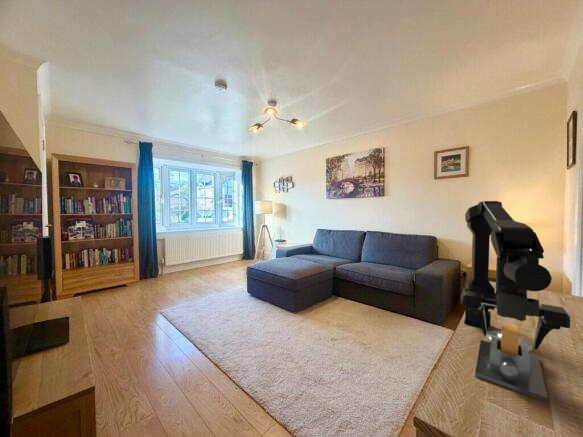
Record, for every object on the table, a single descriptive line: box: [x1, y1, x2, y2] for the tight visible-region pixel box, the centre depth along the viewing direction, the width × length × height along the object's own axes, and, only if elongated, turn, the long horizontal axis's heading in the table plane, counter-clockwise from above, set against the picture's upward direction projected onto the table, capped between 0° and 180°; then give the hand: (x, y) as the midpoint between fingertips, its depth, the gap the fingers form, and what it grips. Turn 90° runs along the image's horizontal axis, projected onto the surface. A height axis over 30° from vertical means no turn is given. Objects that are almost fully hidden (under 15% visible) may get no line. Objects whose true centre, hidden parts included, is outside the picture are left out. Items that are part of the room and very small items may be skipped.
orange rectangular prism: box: [501, 322, 520, 355], centre depth 60 cm, size 3×4×10 cm
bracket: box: [474, 330, 549, 403], centre depth 62 cm, size 12×20×6 cm, turn 139°
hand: (509, 341), depth 60 cm, fingers open, 9 cm apart
